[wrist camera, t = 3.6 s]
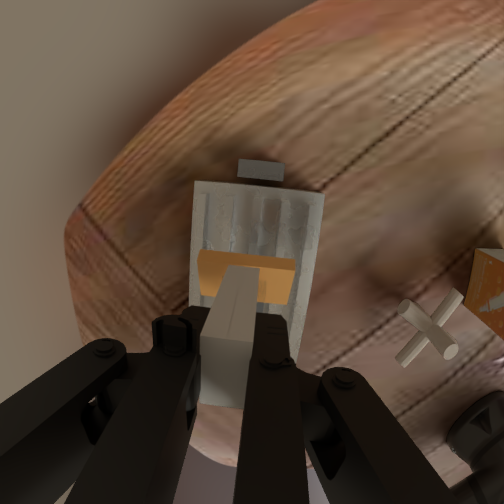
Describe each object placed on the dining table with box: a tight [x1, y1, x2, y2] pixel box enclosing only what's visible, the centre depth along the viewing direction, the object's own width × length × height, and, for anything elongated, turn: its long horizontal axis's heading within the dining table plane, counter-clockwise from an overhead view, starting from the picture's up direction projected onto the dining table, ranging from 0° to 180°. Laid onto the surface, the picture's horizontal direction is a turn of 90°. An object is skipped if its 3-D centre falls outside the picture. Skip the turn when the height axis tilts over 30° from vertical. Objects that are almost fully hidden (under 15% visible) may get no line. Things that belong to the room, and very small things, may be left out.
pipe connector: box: [395, 288, 464, 367], centre depth 28 cm, size 10×10×10 cm
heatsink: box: [189, 159, 325, 364], centre depth 28 cm, size 23×12×8 cm, turn 174°
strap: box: [197, 249, 295, 313], centre depth 23 cm, size 20×5×1 cm
